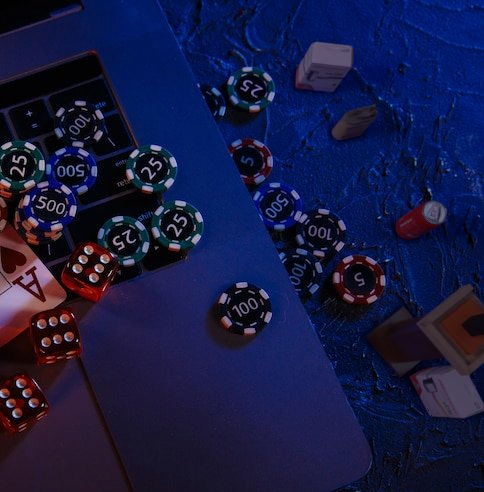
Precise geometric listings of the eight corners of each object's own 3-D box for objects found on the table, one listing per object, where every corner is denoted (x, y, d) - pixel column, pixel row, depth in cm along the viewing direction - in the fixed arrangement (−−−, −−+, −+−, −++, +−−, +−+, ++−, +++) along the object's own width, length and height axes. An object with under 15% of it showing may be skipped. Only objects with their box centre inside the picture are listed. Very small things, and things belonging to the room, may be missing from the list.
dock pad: (462, 286, 103) (470, 283, 101) (507, 336, 101) (516, 335, 99) (415, 323, 102) (422, 321, 99) (460, 375, 100) (468, 375, 97)
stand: (401, 307, 125) (462, 288, 103) (435, 347, 123) (505, 336, 101) (364, 336, 124) (417, 323, 102) (398, 377, 122) (460, 373, 100)
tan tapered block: (334, 142, 134) (351, 122, 124) (328, 126, 134) (345, 105, 125) (365, 134, 134) (385, 113, 124) (359, 118, 135) (378, 97, 125)
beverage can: (390, 234, 129) (417, 218, 117) (398, 213, 130) (426, 195, 118) (413, 245, 128) (443, 229, 116) (421, 223, 129) (452, 206, 118)
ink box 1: (294, 90, 137) (311, 61, 125) (295, 69, 138) (312, 39, 126) (334, 94, 136) (354, 66, 125) (334, 73, 137) (354, 44, 126)
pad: (467, 299, 101) (491, 292, 95) (496, 331, 100) (522, 326, 94) (438, 323, 100) (460, 318, 94) (466, 355, 99) (491, 352, 93)
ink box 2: (407, 375, 122) (437, 373, 110) (430, 365, 122) (462, 362, 111) (429, 417, 120) (462, 420, 109) (452, 407, 120) (487, 409, 109)
